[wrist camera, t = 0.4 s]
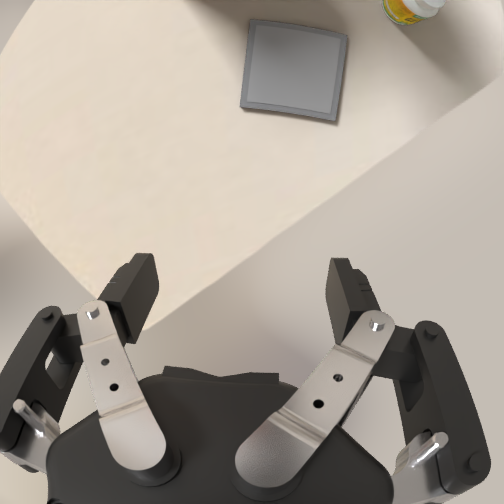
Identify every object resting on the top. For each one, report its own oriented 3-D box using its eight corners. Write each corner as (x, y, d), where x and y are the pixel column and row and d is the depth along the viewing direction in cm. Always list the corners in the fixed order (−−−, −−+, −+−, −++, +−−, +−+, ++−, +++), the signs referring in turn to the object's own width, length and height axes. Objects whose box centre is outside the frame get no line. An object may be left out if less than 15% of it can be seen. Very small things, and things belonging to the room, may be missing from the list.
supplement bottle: (402, -11, 23) (433, -30, 15) (422, 21, 25) (458, 9, 17) (373, -2, 25) (401, -24, 16) (394, 30, 27) (428, 17, 19)
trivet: (250, 20, 28) (250, 19, 27) (345, 36, 28) (347, 35, 28) (240, 106, 34) (239, 106, 33) (333, 120, 34) (335, 121, 34)
